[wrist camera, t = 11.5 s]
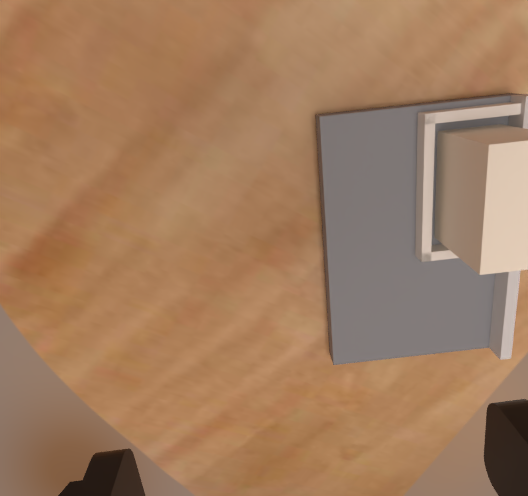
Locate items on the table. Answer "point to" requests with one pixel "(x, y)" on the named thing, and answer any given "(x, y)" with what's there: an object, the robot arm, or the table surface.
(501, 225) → the cream box
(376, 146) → the shelf deck
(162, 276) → the table surface
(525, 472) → the robot arm
